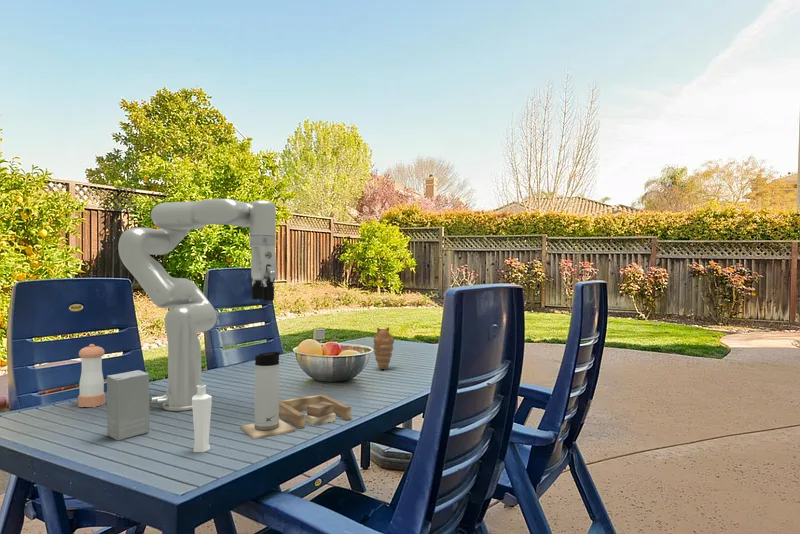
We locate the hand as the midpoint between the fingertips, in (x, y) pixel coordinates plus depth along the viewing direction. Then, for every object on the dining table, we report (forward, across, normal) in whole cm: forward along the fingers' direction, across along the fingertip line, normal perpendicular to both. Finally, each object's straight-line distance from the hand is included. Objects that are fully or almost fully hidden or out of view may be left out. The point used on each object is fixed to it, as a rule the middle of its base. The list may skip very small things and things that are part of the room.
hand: (262, 299), depth 155 cm
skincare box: (+34, -2, +36) cm, 49 cm away
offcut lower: (+34, -19, -10) cm, 40 cm away
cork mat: (+33, -18, +5) cm, 38 cm away
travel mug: (+33, -18, +5) cm, 38 cm away
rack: (+33, -13, -10) cm, 37 cm away
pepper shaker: (+34, +38, +42) cm, 66 cm away
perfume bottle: (+34, -24, +23) cm, 47 cm away
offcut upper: (+31, -19, -10) cm, 38 cm away
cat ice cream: (+34, +35, -64) cm, 80 cm away
